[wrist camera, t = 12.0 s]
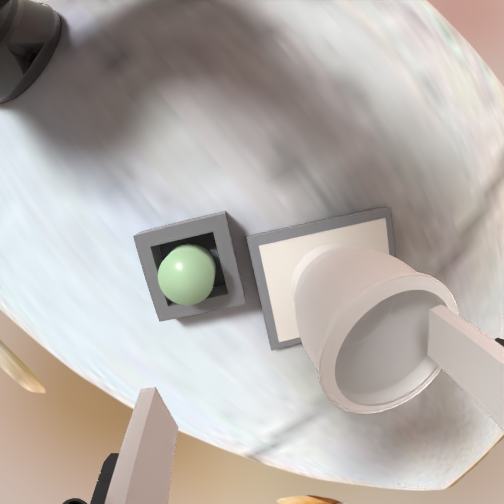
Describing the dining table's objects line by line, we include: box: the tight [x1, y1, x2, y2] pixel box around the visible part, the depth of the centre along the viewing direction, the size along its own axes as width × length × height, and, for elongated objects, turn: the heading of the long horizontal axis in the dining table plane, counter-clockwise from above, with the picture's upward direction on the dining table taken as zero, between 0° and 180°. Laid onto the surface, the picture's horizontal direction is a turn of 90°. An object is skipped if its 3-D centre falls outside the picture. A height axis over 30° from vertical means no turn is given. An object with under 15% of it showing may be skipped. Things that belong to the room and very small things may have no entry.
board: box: [246, 207, 396, 350], centre depth 32 cm, size 16×13×2 cm
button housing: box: [133, 211, 246, 321], centre depth 29 cm, size 9×9×3 cm
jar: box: [291, 244, 459, 414], centre depth 23 cm, size 11×10×15 cm
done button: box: [158, 243, 216, 305], centre depth 27 cm, size 5×5×3 cm
